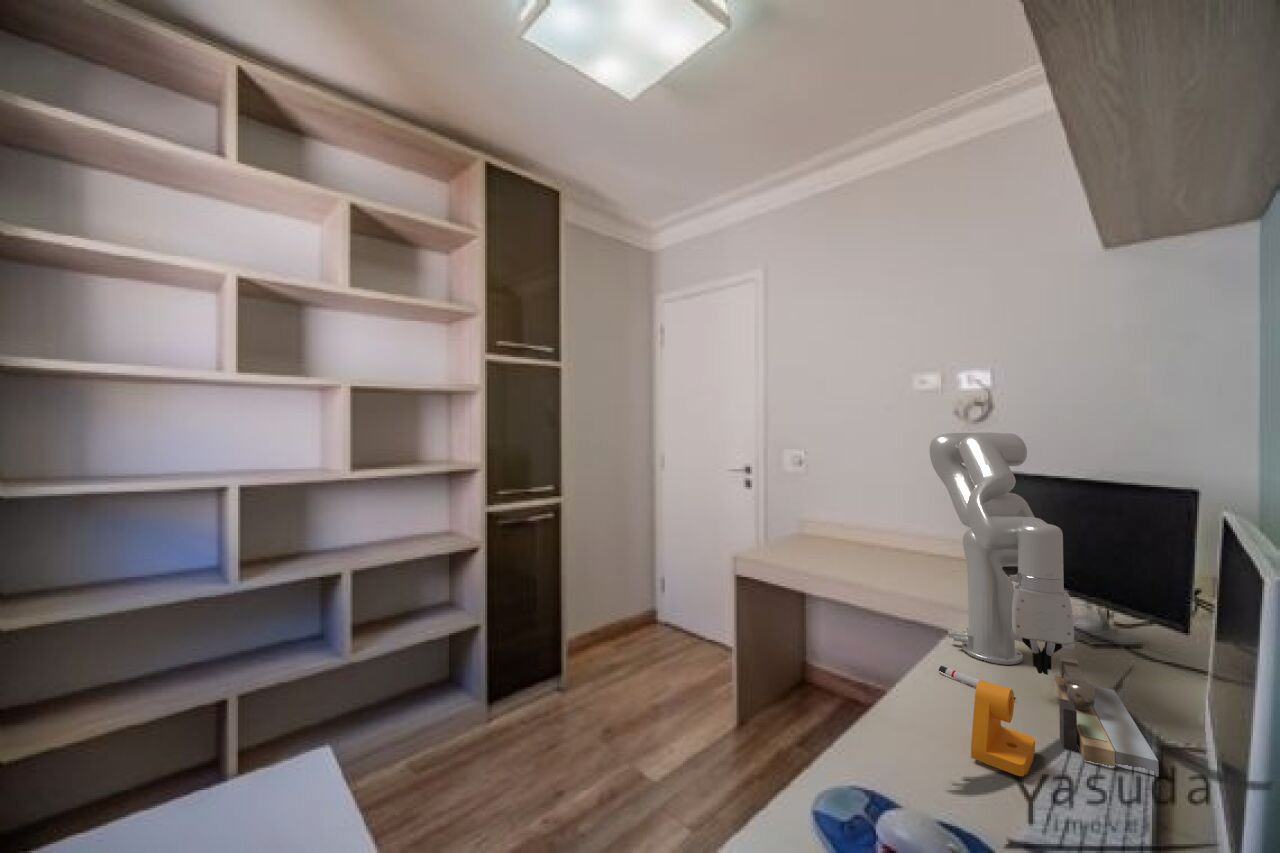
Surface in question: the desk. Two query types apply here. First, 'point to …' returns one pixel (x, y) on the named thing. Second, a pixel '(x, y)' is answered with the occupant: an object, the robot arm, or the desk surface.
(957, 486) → the robot arm
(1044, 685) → the desk surface
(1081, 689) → the door handle
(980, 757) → the bracket
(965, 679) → the marker
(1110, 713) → the doorframe
